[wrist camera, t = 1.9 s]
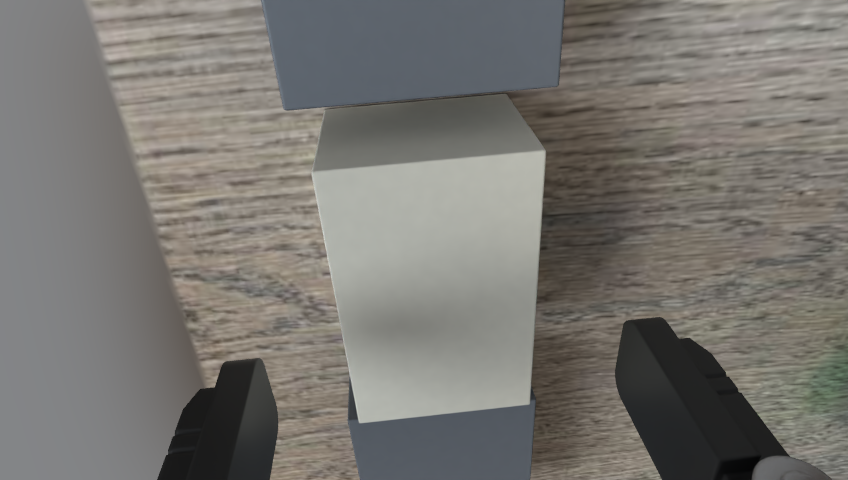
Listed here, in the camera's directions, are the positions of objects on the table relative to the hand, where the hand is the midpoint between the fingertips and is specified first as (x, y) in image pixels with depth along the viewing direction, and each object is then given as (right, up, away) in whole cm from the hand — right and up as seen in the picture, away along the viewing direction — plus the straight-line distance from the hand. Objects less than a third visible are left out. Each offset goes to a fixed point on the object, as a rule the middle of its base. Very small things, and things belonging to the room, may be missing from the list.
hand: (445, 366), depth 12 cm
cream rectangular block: (0, +3, +5) cm, 6 cm away
